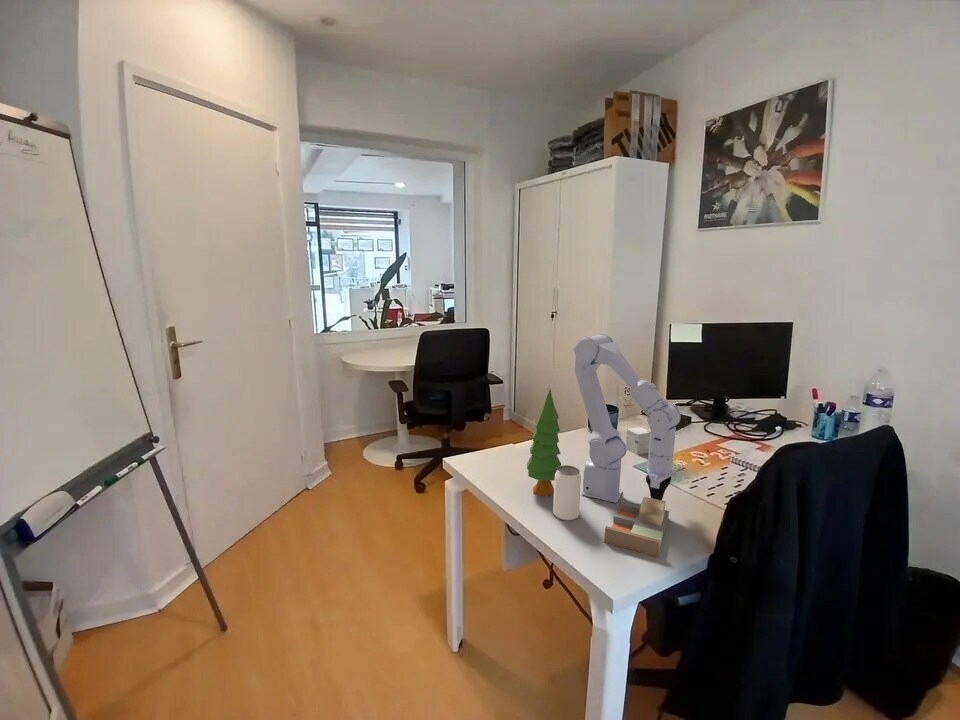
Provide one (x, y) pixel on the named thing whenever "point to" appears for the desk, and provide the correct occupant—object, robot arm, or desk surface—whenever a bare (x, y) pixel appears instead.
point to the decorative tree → (545, 449)
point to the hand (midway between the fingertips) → (656, 503)
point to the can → (567, 493)
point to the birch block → (652, 511)
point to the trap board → (635, 530)
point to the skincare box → (638, 440)
